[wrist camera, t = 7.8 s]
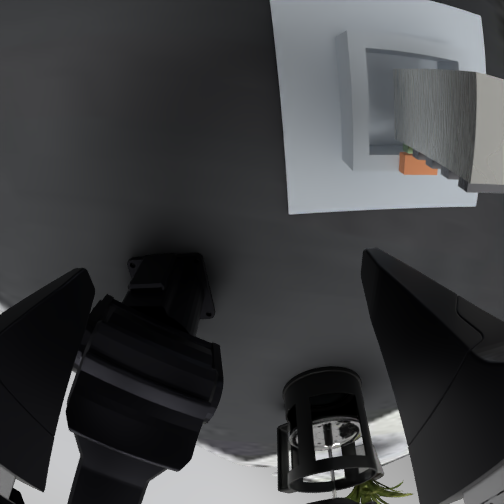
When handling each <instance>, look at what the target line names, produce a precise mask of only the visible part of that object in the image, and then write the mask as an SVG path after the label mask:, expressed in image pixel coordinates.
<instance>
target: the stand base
mask: <svg viewBox="0 0 504 504" xmlns="http://www.w3.org/2000/svg"><path fill="white" fill-rule="evenodd" d="M270 8H271V16H272V24H273V33H274V42H275V51H276V60H277V70H278V80H279V91H280V102H281V113H282V125H283V138H284V151H285V165H286V180H287V196H288V212H289V214H304V213H319V212H336V211H355V210H375V209H399V208H427V207H471V206H476V202H477V196H478V193H467V192H465V191H464V190H463V189H461V188H460V187H458V181H459V180H453V179H447V178H445V177H444V176H443V175H441V169H432V168H430V167H429V166H427V165H426V160H418V159H416V158H414V157H413V154H409V153H406V152H405V151H403V143H402V142H400V141H398V140H396V139H394V79H393V69H443V70H460V71H472V72H478V73H482V74H486V65H485V50H484V39H483V30H482V22H481V16H479V15H476V14H473V13H471V12H468V11H465V10H461V9H458V8H455V7H452V6H448V5H445V4H441V3H437V2H434V1H430V0H270Z"/></svg>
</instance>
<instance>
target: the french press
mask: <svg viewBox="0 0 504 504" xmlns="http://www.w3.org/2000/svg"><path fill="white" fill-rule="evenodd" d="M331 393H344V394H348V395H347V396H346V397H344V398H343V399H342V400H340V401H338V402H336V403H333V404H330V405H326V406H319V407H312V406H311V405H310V398H311V397H314V396H318V395H323V394H331ZM283 399H284V402H285V414H286V420H287V422H288V423H285V424H283V425H280V426H278V428H277V456H278V491H280V492H285V493H293V492H305V493H320V492H330V491H332V493H333V499H327V500H321V501H316V502H312V503H308V504H360V503H358V502H356V501H354V500H351V499H349V498H337V497H336V490H341V489H346V488H350V487H353V486H356V485H359V484H362V483H364V482H366V481H368V480H370V479H372V478H373V477H375V476H376V475H377V473H378V469H377V464H376V460H375V457H374V452H373V446H372V441H371V436H370V431H369V426H368V422H367V417H366V412H365V408H364V400H363V396H362V391H361V380H360V377H359V376H358V375H357V374H356V373H355V372H353V371H352V370H349V369H346V368H341V367H322V368H317V369H313V370H309V371H306V372H304V373H301V374H299V375H297V376H296V377H294V378H292V379H291V380H290V381H289V382H288V383H287V384H286V386H285V387H284V390H283ZM357 416H358V417H357ZM289 431H290V438H289V442H290V444H291V463H292V470H291V471H289V452H288V432H289ZM360 437H362V439H363V445H364V450H365V455H356V448H355V442H354V441H356V440H358V439H359V438H360ZM339 447H341V449H342V456H339V457H332V449H335V448H339ZM322 450H328V453H329V458H327V459H322V460H317V461H316V458H315V451H322ZM359 468H369V469H367V470H365V471H364V472H362V473H359ZM340 469H344V472H345V479H340V480H335V476H334V470H340ZM327 471H330V472H331V481H329V482H317V483H310V482H303V477H306V476H309V475H313V474H317V473H322V472H327ZM365 504H377V503H376V502H375V501H370V502H367V503H365Z"/></svg>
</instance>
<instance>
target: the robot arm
mask: <svg viewBox="0 0 504 504" xmlns="http://www.w3.org/2000/svg"><path fill="white" fill-rule="evenodd" d="M194 259H198V260H199V261H195V260H194ZM132 263H134V264H135V265H132ZM127 266H128V269H129V272H130V275H131V277H132V280H131V282H130V284H129V285H128V289H129V290H128V292H127V294H126V296H125V298H124V300H123V302H122V303H121V302H119V301H117V300H115V299H114V297H112V296H110V295H108V294H107V295H106V296H105V297H104V299H103V300H102V301H101V300H100V301H99V302H98V304H97V305H96V306H95V307H94V308H93V310H92V311H91V313H90V310H91V306H92V303H93V299H94V295H95V288H94V285H93V283H92V281H91V278H90V276H89V273H88V271H87V270H86V269H85V268H76V269H73V270H72V271H70V272H68V273H66V274H65V275H63V276H61V277H60V278H58V279H56V280H54V281H53V282H51V283H49V284H48V285H46V286H44V287H43V288H41V289H40V290H38V291H36V292H35V293H33V294H31V295H30V296H28V297H27V298H25V299H23V300H22V301H20V302H19V303H17V304H15V305H14V306H12V307H11V308H9V309H8V310H6V311H5V312H3V313H2V314H1V315H0V504H24V501H23V499H22V496H21V493H20V492H19V491H17V490H16V489H14V488H13V485H14V482H15V479H17V480H19V481H21V482H23V483H25V484H27V485H29V486H31V487H33V488H35V489H37V490H39V491H42V492H44V490H45V486H46V478H47V473H48V467H49V461H50V456H51V451H52V446H53V442H54V436H55V432H56V427H57V423H58V419H59V415H60V411H61V407H62V403H63V400H64V396H65V392H66V388H67V385H68V382H69V378H70V375H71V372H72V371H74V372H76V376H75V379H74V381H73V384H72V387H71V390H70V393H69V397H68V400H67V408H66V416H67V422H68V428H69V430H70V431H71V432H73V433H74V435H75V438H76V442H77V445H78V448H79V452H80V460H79V463H78V466H77V470H76V473H75V477H74V481H73V484H72V488H71V492H70V495H69V499H68V504H141V503H142V500H143V497H144V494H145V491H146V488H147V486H148V483H149V481H150V480H152V479H153V478H155V477H156V476H157V475H159V474H161V473H162V472H164V471H165V470H167V469H170V470H173V471H176V472H177V471H180V470H181V469H182V468H183V467H184V466H185V465H186V464H187V463H188V462H189V461H190V460H191V458H192V455H193V452H194V448H195V445H196V441H197V438H198V435H199V432H200V429H201V427H202V424H206V423H208V421H209V420H210V419H211V418H212V416H213V415H214V413H215V411H216V409H217V406H218V404H219V401H220V398H221V394H222V390H223V370H222V362H221V353H220V345H218V344H216V343H213V342H212V343H210V342H207V341H205V340H202V339H200V338H197V337H196V332H197V328H198V323H199V319H210V318H213V317H214V315H215V309H214V305H213V300H212V296H211V292H210V287H209V283H208V278H207V274H206V269H205V264H204V260H203V257H202V255H201V254H199V253H191V254H177V255H176V254H173V253H172V254H159V255H146V256H145V257H137V258H131V259H129V261H128V263H127ZM361 279H362V284H363V288H364V292H365V296H366V301H367V305H368V310H369V314H370V318H371V322H372V325H373V328H374V331H375V334H376V337H377V340H378V343H379V346H380V349H381V352H382V355H383V359H384V362H385V365H386V368H387V371H388V375H389V378H390V381H391V385H392V388H393V391H394V395H395V398H396V402H397V406H398V409H399V413H400V417H401V420H402V424H403V428H404V432H405V436H406V440H407V444H408V446H409V447H408V449H409V453H410V458H411V462H412V467H413V471H414V476H415V481H416V486H417V491H418V496H419V502H420V504H450V503H452V502H454V501H457V500H460V499H462V498H463V499H464V503H465V504H504V322H503V321H501V320H500V319H498V318H496V317H494V316H492V315H491V314H489V313H487V312H485V311H483V310H482V309H480V308H478V307H477V306H475V305H473V304H472V303H470V302H468V301H467V300H465V299H464V298H462V297H461V296H457V294H456V293H454V292H452V291H451V290H449V289H447V288H446V287H444V286H442V285H441V284H439V283H438V282H436V281H434V280H433V279H431V278H429V277H427V276H426V275H424V274H422V273H421V272H419V271H417V270H416V269H414V268H412V267H410V266H409V265H407V264H405V263H403V262H402V261H400V260H398V259H396V258H395V257H393V256H391V255H389V254H388V253H386V252H384V251H382V250H380V249H379V248H366V249H364V251H363V257H362V267H361ZM207 312H210V313H207Z"/></svg>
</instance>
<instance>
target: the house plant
mask: <svg viewBox="0 0 504 504" xmlns="http://www.w3.org/2000/svg"><path fill="white" fill-rule="evenodd" d="M372 446H373V445H372ZM355 448H356V455H365V450H364V445H360V446H356V447H355ZM373 452H374V457H375V460H376V464H377V469H378V473H377V475H376V476H375V477H373V478H372V479H370V480H368V481H366V482H364V483H362V484H359V485H356V486H355V487H354V489H353V491H352V492H351V493H350V494H349V495H348V496H347V497H345V498H349V499H350V498H351V500H354V501H356V502H358V503H360V498H361V504H365V503H367V502H370V501H372V500H373V501H375V502H376V503H378V504H381V503H380V502H378V501H377V499H378V500H379V501H381V502H382V503H384V504H388V503H386V502H385V501H383V500H382V499H381V498H380V496H384V497H404V496H408V495H412V494H411V493H410V494H403V493H398V492H399V491H395V490H393V489H394V488H397V487H399V486H400V485H401V484H402V483H403V482H402V483H400V484H399V485H397V486H395V487H393V488H389V487H387V486H385V485H383V484H381V483H379V482H377V481H375V480H377V479H379V478H381V477H382V476H383V475H384V472H383V469H382V466H381V464H380V461H379V459H378V456H377V454H376V451H375V449H374V446H373ZM367 469H369V468H359V473H362V472H364V471H365V470H367ZM344 479H345V478H344ZM373 481H374V482H375V483H376V482H377V483H378V484H380V485H383V486H384V487H386V488H384V487H381V486H380V487H379V485H378V484H377V483H376V484H377V485H376V484H375V483H373ZM384 489H390V490H392V491H395V492H391V491H387V490H384ZM377 494H378V495H377ZM379 495H380V496H379ZM371 498H372V500H371ZM376 498H377V499H376Z"/></svg>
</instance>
